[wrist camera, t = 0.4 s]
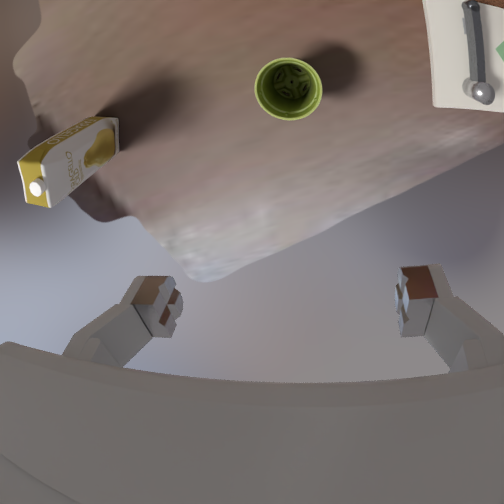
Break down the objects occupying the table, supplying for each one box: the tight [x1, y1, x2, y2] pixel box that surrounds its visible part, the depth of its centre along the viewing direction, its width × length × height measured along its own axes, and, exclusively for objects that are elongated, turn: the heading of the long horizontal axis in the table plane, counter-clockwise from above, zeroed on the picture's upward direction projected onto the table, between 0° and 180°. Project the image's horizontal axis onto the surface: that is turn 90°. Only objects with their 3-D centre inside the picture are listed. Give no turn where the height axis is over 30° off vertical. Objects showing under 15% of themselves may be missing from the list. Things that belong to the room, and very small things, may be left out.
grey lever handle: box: [462, 0, 495, 105], centre depth 32 cm, size 17×4×6 cm, turn 11°
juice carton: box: [17, 117, 119, 208], centre depth 48 cm, size 9×8×24 cm
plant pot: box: [255, 58, 322, 120], centre depth 44 cm, size 9×9×9 cm
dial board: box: [422, 0, 504, 112], centre depth 35 cm, size 20×18×2 cm
